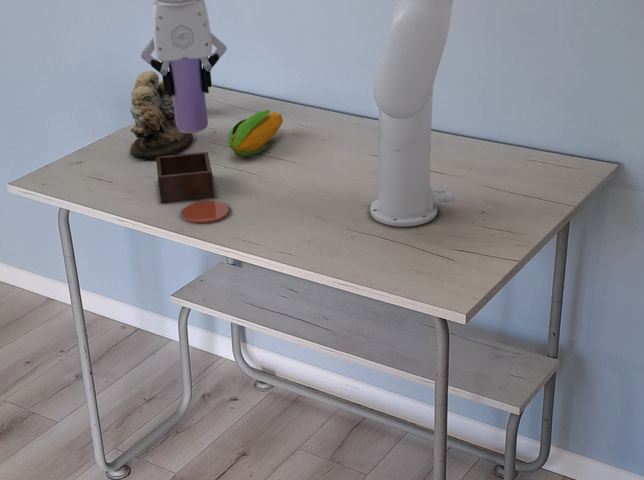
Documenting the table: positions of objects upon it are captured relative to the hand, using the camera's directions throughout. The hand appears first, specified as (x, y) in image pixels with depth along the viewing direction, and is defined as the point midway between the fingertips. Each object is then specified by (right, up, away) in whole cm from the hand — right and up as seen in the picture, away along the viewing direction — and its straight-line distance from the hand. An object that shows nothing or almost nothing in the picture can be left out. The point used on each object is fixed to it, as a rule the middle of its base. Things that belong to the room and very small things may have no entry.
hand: (188, 91), depth 188 cm
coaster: (+2, -21, +10) cm, 23 cm away
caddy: (-3, -15, +19) cm, 25 cm away
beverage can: (0, -6, +4) cm, 7 cm away
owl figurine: (-10, -3, +39) cm, 40 cm away
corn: (+11, -3, +37) cm, 39 cm away
